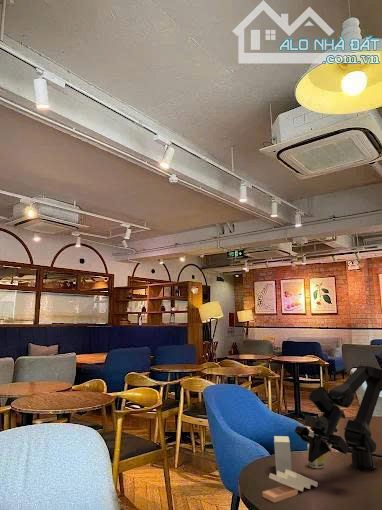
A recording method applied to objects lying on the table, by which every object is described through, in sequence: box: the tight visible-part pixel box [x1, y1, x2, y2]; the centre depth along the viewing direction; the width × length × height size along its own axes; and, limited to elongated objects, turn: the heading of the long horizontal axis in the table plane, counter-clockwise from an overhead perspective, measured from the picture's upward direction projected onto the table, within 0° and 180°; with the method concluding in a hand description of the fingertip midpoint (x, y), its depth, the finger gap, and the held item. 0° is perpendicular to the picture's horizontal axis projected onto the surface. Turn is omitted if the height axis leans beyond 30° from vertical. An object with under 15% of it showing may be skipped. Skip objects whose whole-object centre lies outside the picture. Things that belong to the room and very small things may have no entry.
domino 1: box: [268, 472, 305, 492], centre depth 120 cm, size 1×5×10 cm
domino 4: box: [285, 469, 319, 488], centre depth 123 cm, size 1×5×10 cm
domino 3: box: [275, 470, 312, 490], centre depth 122 cm, size 1×5×10 cm
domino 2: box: [262, 484, 299, 504], centre depth 117 cm, size 1×5×10 cm
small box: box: [273, 435, 293, 474], centre depth 139 cm, size 8×6×10 cm
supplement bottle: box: [306, 443, 325, 469], centre depth 142 cm, size 5×5×10 cm
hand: (309, 461), depth 126 cm, fingers closed
